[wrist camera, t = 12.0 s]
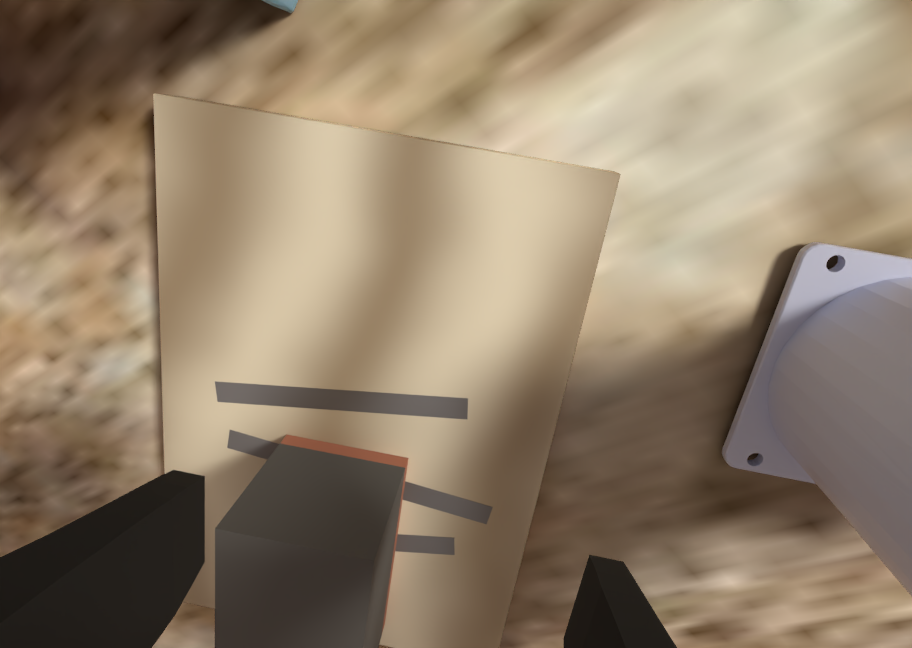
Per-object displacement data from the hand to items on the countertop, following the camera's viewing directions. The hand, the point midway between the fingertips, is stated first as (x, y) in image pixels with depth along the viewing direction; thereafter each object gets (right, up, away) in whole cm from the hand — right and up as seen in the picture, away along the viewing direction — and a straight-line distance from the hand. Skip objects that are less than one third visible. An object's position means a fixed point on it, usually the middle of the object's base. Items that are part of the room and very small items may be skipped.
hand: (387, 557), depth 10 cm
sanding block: (-3, -4, +11) cm, 12 cm away
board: (-2, +1, +10) cm, 11 cm away
